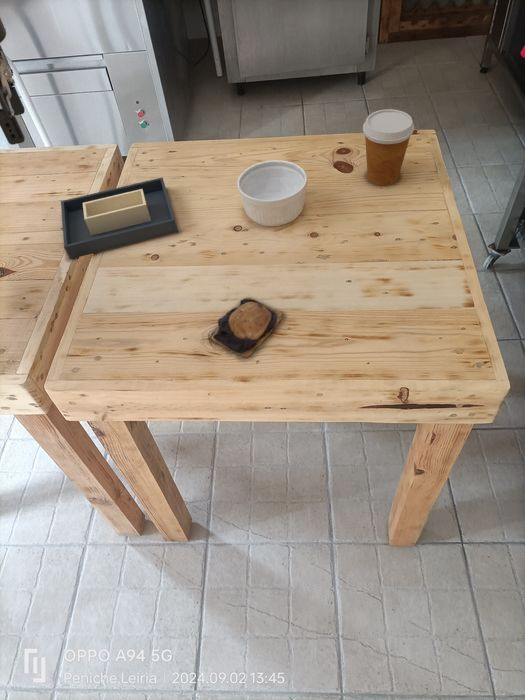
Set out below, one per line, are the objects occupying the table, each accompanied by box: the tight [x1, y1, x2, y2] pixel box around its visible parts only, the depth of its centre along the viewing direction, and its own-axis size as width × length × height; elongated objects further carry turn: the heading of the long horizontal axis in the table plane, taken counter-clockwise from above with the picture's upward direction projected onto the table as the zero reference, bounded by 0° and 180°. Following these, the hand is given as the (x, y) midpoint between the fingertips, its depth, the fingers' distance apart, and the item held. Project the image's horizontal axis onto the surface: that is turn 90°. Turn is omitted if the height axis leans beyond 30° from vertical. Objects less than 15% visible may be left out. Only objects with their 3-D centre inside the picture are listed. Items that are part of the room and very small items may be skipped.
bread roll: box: [210, 297, 283, 359], centre depth 85 cm, size 11×8×4 cm
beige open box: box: [83, 189, 151, 236], centre depth 105 cm, size 12×6×4 cm, turn 106°
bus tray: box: [60, 176, 179, 260], centre depth 106 cm, size 21×15×3 cm
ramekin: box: [236, 159, 308, 227], centre depth 103 cm, size 13×13×7 cm
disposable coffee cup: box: [362, 108, 415, 186], centre depth 104 cm, size 10×10×12 cm
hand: (18, 127), depth 77 cm, fingers open, 8 cm apart
